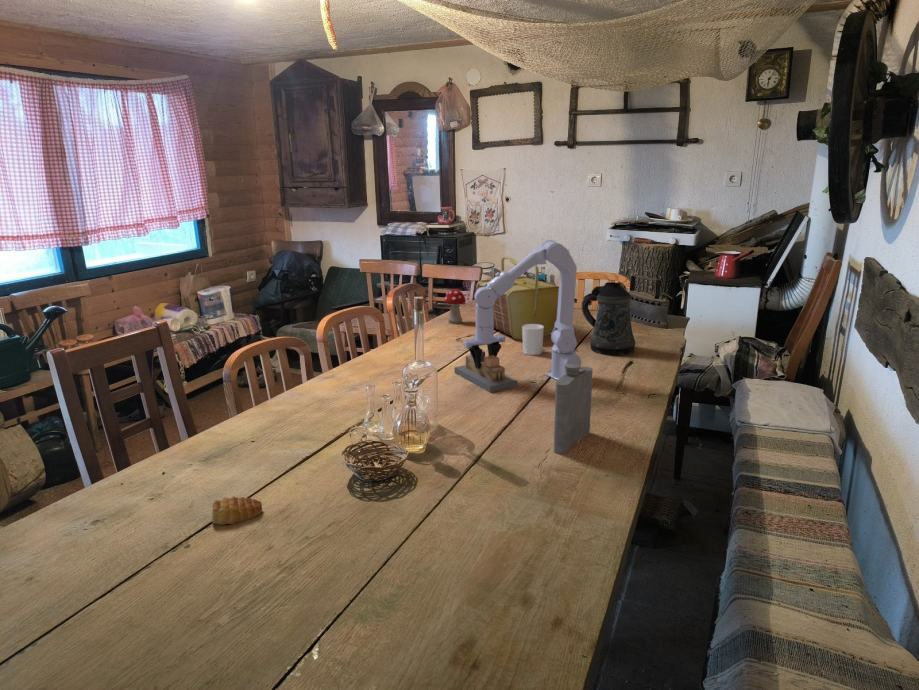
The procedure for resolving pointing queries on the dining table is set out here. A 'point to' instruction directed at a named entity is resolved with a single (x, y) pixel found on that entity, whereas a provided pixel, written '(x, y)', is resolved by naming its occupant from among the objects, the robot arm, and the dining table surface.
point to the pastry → (235, 510)
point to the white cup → (532, 339)
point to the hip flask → (572, 407)
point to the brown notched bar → (486, 370)
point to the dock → (485, 380)
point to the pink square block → (491, 361)
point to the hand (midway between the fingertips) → (484, 366)
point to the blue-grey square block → (481, 355)
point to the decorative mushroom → (454, 305)
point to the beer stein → (610, 320)
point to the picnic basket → (525, 304)
